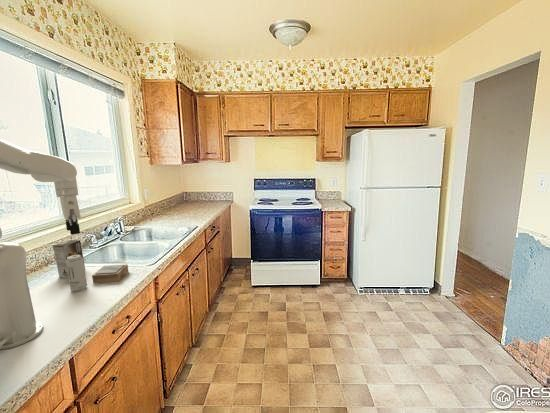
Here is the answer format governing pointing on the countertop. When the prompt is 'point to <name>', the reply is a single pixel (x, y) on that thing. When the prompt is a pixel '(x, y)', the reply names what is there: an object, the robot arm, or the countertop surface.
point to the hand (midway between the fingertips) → (73, 231)
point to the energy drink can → (76, 273)
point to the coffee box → (66, 254)
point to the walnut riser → (110, 274)
